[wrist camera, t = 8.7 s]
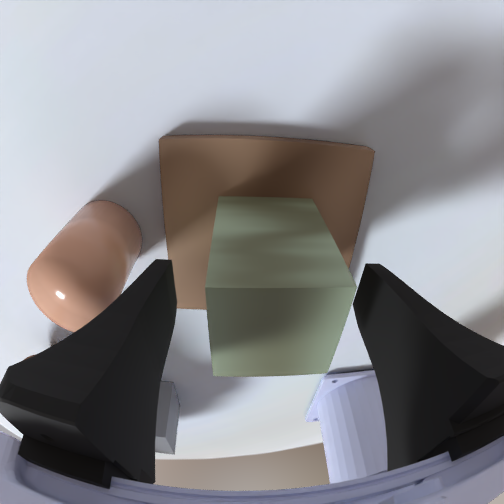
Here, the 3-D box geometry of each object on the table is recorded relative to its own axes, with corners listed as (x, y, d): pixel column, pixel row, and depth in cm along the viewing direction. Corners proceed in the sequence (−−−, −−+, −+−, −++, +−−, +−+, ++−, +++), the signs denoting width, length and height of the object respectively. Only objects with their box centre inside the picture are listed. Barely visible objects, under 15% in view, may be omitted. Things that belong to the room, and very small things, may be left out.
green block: (312, 198, 13) (356, 287, 8) (301, 273, 15) (327, 372, 10) (218, 196, 13) (204, 287, 8) (220, 272, 15) (213, 376, 10)
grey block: (173, 381, 21) (165, 437, 17) (179, 404, 24) (174, 454, 19) (125, 376, 21) (113, 429, 17) (137, 400, 23) (128, 447, 19)
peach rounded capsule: (137, 199, 13) (95, 258, 9) (147, 268, 15) (121, 338, 11) (67, 201, 13) (14, 255, 9) (83, 266, 15) (46, 328, 11)
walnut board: (367, 146, 12) (374, 151, 12) (333, 300, 17) (336, 309, 16) (163, 135, 12) (158, 139, 11) (177, 298, 17) (175, 308, 16)
